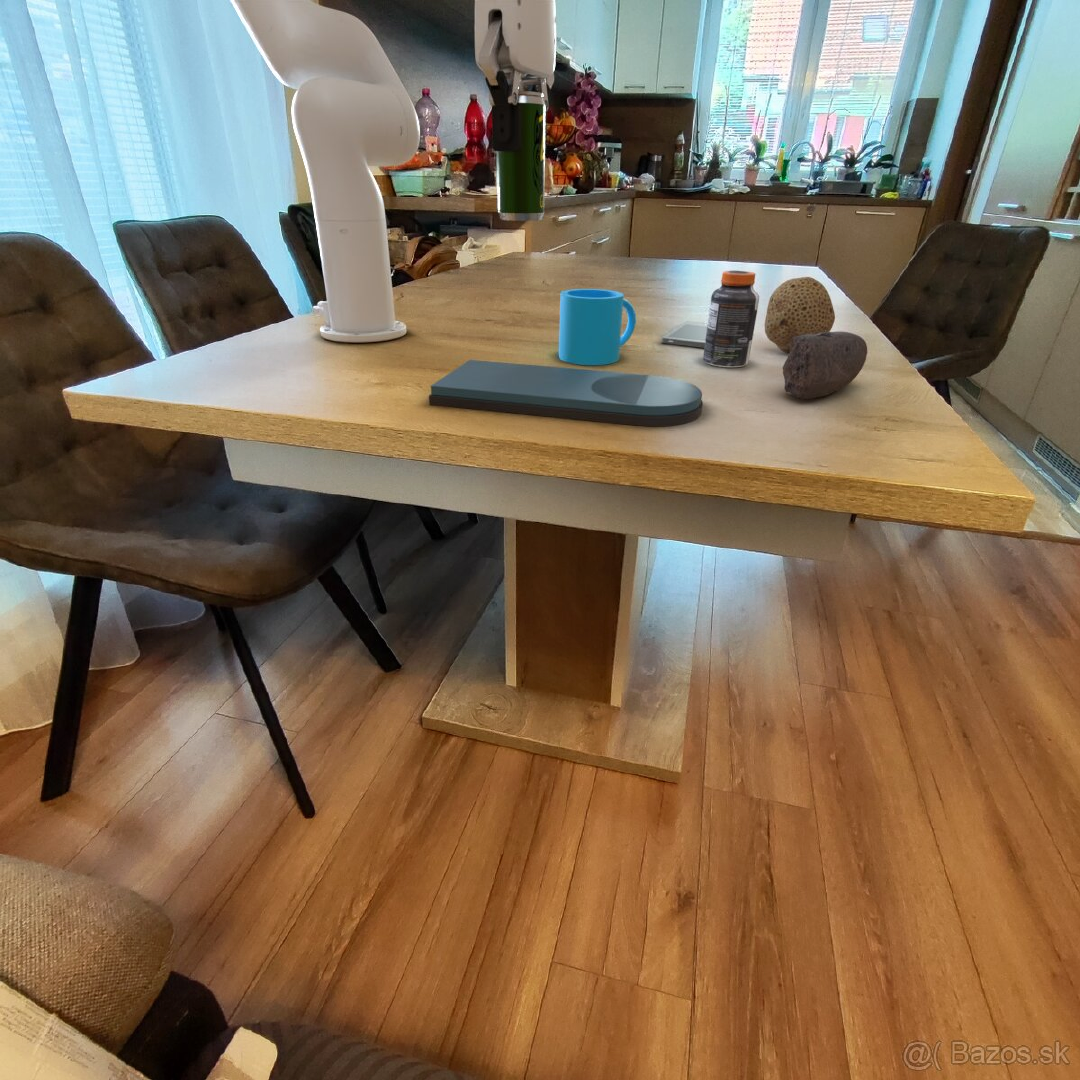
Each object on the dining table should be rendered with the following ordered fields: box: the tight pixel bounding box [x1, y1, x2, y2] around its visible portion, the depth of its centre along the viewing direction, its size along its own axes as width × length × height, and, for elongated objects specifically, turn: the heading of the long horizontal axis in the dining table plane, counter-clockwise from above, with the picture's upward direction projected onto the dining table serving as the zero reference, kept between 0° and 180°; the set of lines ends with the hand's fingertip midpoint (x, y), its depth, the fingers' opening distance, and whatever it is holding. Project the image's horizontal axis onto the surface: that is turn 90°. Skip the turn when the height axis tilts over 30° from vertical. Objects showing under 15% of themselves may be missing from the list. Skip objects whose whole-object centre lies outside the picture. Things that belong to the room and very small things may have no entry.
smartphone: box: [661, 320, 708, 349], centre depth 98 cm, size 15×8×1 cm, turn 154°
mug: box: [558, 288, 637, 366], centre depth 85 cm, size 12×8×8 cm
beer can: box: [495, 90, 546, 222], centre depth 71 cm, size 5×5×12 cm
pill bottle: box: [702, 270, 760, 368], centre depth 82 cm, size 6×6×11 cm
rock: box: [782, 331, 868, 400], centre depth 72 cm, size 15×5×7 cm, turn 127°
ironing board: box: [428, 359, 704, 427], centre depth 69 cm, size 28×12×2 cm, turn 75°
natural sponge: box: [764, 276, 836, 353], centre depth 88 cm, size 9×9×10 cm
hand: (520, 150), depth 70 cm, fingers closed on beer can, 5 cm apart
